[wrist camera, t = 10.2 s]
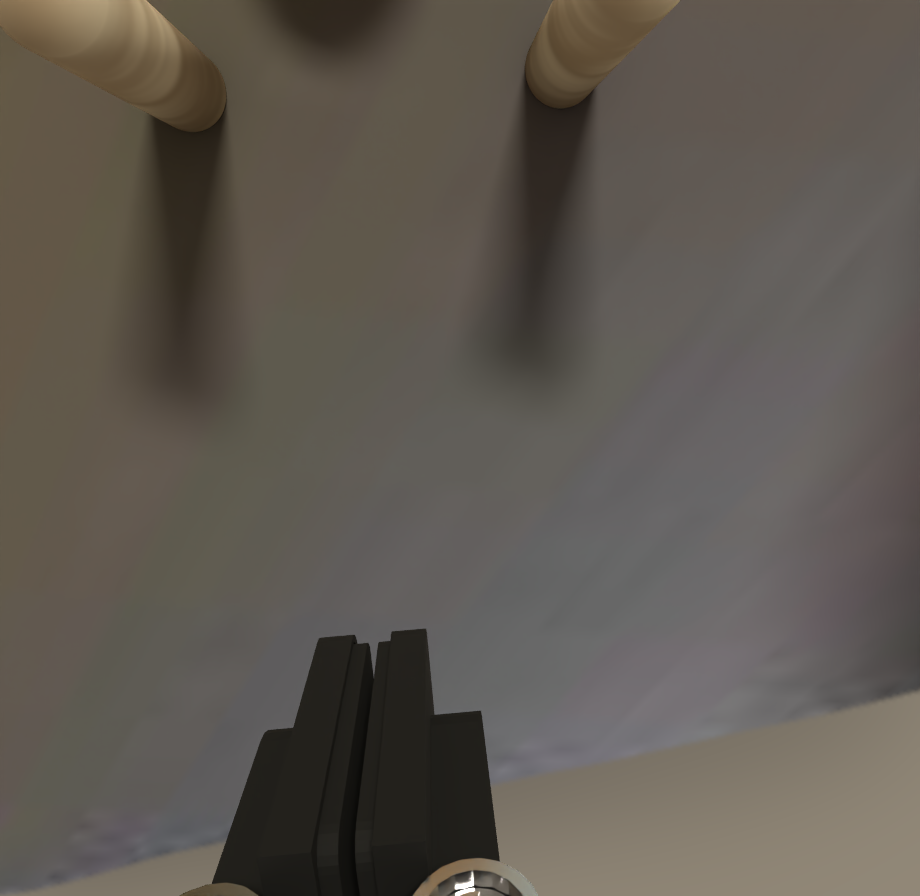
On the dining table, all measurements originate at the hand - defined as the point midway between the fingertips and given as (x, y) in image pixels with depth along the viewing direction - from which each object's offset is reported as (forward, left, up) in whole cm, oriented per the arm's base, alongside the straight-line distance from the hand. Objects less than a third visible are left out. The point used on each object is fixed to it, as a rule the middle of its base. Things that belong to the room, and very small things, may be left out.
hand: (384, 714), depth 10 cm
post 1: (+7, -13, -17) cm, 22 cm away
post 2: (-7, -13, -17) cm, 22 cm away
